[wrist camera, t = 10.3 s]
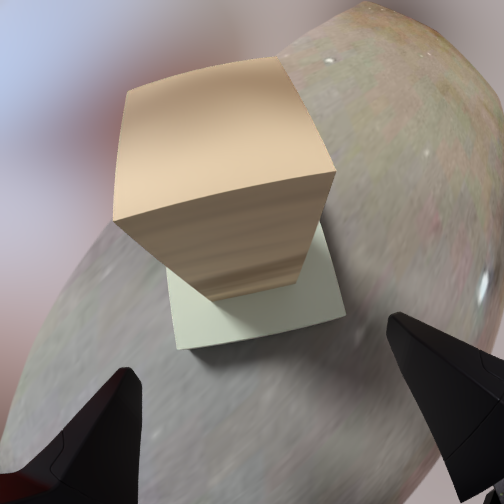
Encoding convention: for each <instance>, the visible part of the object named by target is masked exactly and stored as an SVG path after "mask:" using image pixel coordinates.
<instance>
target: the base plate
mask: <svg viewBox="0 0 504 504" xmlns="http://www.w3.org/2000/svg"><path fill="white" fill-rule="evenodd" d="M166 271H167V281H168V289H169V298H170V305H171V313H172V320H173V327H174V333H175V339H176V345H177V350H190V349H196V348H203V347H209V346H216V345H222V344H227V343H233V342H238V341H244V340H249V339H254V338H259V337H264V336H269V335H274V334H278V333H283V332H287V331H291V330H296V329H300V328H304V327H308V326H312V325H316V324H320V323H324V322H328V321H332V320H335V319H338V318H341V317H343V316H346V312H345V308H344V304H343V300H342V296H341V292H340V289H339V285H338V281H337V278H336V274H335V270H334V267H333V263H332V260H331V257H330V253H329V250H328V246H327V243H326V240H325V237H324V233H323V230H322V227H321V224H320V221H319V223H318V226H317V229H316V231H315V234H314V237H313V239H312V242H311V245H310V248H309V250H308V253H307V256H306V258H305V261H304V263H303V266H302V269H301V271H300V274H299V276H298V279H297V281H296V284H292V285H287V286H283V287H278V288H274V289H269V290H265V291H260V292H256V293H251V294H246V295H242V296H237V297H232V298H227V299H222V300H217V301H212V302H211V301H210V300H208V299H207V298H206V297H204V296H203V295H202V294H200V293H199V292H198V291H197V290H195V289H194V288H193V287H191V286H190V285H189V284H188V283H186V282H185V281H184V280H182V279H181V278H180V277H179V276H177V275H176V274H175V273H174V272H172V271H171V270H170V269H169V268H167V267H166Z"/></svg>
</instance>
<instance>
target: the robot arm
mask: <svg viewBox="0 0 504 504" xmlns="http://www.w3.org/2000/svg"><path fill="white" fill-rule="evenodd" d="M386 335H387V339H388V341H389V344H390V346H391V349H392V351H393V353H394V356H395V358H396V361H397V363H398V366H399V368H400V371H401V373H402V375H403V377H404V379H405V381H406V383H407V385H408V386H409V388H410V390H411V392H412V394H413V396H414V398H415V400H416V402H417V404H418V406H419V408H420V410H421V412H422V414H423V416H424V418H425V420H426V422H427V424H428V426H429V429H430V431H431V433H432V435H433V437H434V439H435V442H436V444H437V446H438V448H439V451H440V453H441V455H442V457H443V460H444V461H445V465H446V467H447V470H448V472H449V475H450V477H451V480H452V482H453V485H454V487H455V490H456V493H457V495H458V498H459V500H460V503H462V502H464V501H466V500H468V499H470V498H472V497H474V496H476V495H478V494H479V493H481V492H483V491H484V490H486V489H488V488H489V487H491V486H494V489H493V490H492V491H490V492H489V493H488V494H487V495H486V497H485V500H484V503H483V504H504V360H502V359H499V358H497V357H495V356H493V355H490V354H488V353H486V352H484V351H482V350H479V349H478V348H476V347H474V346H471V345H469V344H467V343H465V342H463V341H461V340H459V339H457V338H455V337H453V336H451V335H449V334H446V333H444V332H442V331H440V330H438V329H436V328H434V327H432V326H430V325H428V324H425V323H423V322H421V321H419V320H417V319H415V318H413V317H411V316H408V315H406V314H404V313H402V312H397V313H394V314H391V315H390V316H389V318H388V324H387V331H386ZM141 431H142V384H141V381H140V380H139V378H138V377H137V375H136V374H135V372H134V371H133V370H132V368H130V367H121V368H119V369H118V370H117V371H116V372H115V373H114V374H113V375H112V376H111V378H110V379H109V380H108V381H107V382H106V383H105V384H104V385H103V386H102V387H101V388H100V389H99V390H98V391H97V393H96V394H95V395H94V396H93V397H92V398H91V399H90V400H89V401H88V402H87V403H86V404H85V406H84V407H83V408H82V409H81V410H80V411H79V412H78V413H77V414H76V415H75V416H74V417H73V419H72V420H71V421H70V422H69V423H68V424H67V425H66V426H65V427H64V428H63V430H62V431H61V432H60V433H59V434H58V435H57V436H56V437H55V438H54V439H53V440H52V441H51V442H50V443H49V444H48V445H47V446H46V447H45V448H44V449H43V450H42V451H41V452H40V453H39V454H38V455H37V456H36V457H35V458H34V459H32V460H31V461H30V462H29V463H28V464H27V465H26V466H25V467H24V468H22V469H21V470H19V471H17V472H13V473H5V474H0V504H138V476H139V456H140V442H141Z"/></svg>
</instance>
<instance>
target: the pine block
mask: <svg viewBox="0 0 504 504" xmlns="http://www.w3.org/2000/svg"><path fill="white" fill-rule="evenodd" d="M335 173H336V169H335V167H334V165H333V162H332V160H331V158H330V156H329V154H328V151H327V149H326V147H325V145H324V143H323V141H322V139H321V137H320V134H319V132H318V130H317V128H316V126H315V124H314V122H313V120H312V118H311V116H310V115H309V113H308V111H307V109H306V107H305V105H304V103H303V101H302V99H301V98H300V96H299V94H298V92H297V90H296V89H295V87H294V85H293V83H292V81H291V80H290V78H289V76H288V75H287V73H286V71H285V69H284V68H283V66H282V64H281V63H280V61H279V60H278V58H277V56H276V57H266V58H258V59H252V60H245V61H238V62H233V63H227V64H222V65H217V66H212V67H207V68H203V69H199V70H195V71H191V72H187V73H183V74H179V75H176V76H172V77H169V78H165V79H162V80H159V81H156V82H153V83H150V84H147V85H144V86H141V87H138V88H135V89H133V90H130V91H127V96H126V102H125V107H124V112H123V118H122V125H121V131H120V138H119V146H118V154H117V163H116V174H115V187H114V205H113V222H114V223H115V224H116V225H117V226H119V227H120V228H121V229H122V230H123V231H124V232H125V233H127V234H128V235H129V236H130V237H131V238H132V239H134V240H135V241H136V242H137V243H138V244H139V245H141V246H142V247H143V248H144V249H145V250H147V251H148V252H149V253H150V254H151V255H153V256H154V257H155V258H156V259H157V260H159V261H160V262H161V263H162V264H164V265H165V266H166V267H167V268H169V269H170V270H171V271H172V272H174V273H175V274H176V275H177V276H179V277H180V278H181V279H182V280H184V281H185V282H186V283H188V284H189V285H190V286H191V287H193V288H194V289H195V290H197V291H198V292H199V293H200V294H202V295H203V296H204V297H206V298H207V299H208V300H210V301H211V302H212V301H217V300H222V299H227V298H232V297H237V296H242V295H246V294H251V293H256V292H260V291H265V290H269V289H274V288H278V287H283V286H287V285H292V284H296V281H297V279H298V276H299V274H300V271H301V269H302V266H303V263H304V261H305V258H306V256H307V253H308V250H309V248H310V245H311V242H312V239H313V237H314V234H315V231H316V229H317V226H318V223H319V220H320V217H321V215H322V212H323V209H324V206H325V203H326V200H327V197H328V194H329V191H330V188H331V185H332V182H333V179H334V176H335Z"/></svg>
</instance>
